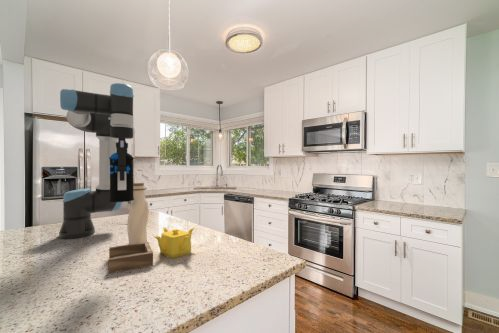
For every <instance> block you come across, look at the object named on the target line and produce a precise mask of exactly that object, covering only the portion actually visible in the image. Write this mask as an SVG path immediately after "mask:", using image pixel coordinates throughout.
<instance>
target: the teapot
mask: <svg viewBox="0 0 499 333" xmlns="http://www.w3.org/2000/svg"><path fill="white" fill-rule="evenodd" d="M195 229H196V228H195V227H191V228H190V229H189V230H188V232H187V231H184V230H181V229H178V228H173V229H172V230H168V228H166V227H163V231H164V232H161V235H160V236H159V235H155V236H153V238H154V239H156V240H157V244H158V247H159V250H160V251H159V252H160V253H161V254H162V255H163V254H164V256H165V257H167V256H168V258H169V257H170V259H176V258H179V256H180V257H183V256H186V255H188V253H189V254H191V251H192V235H193V234H192V233H193V231H194V230H195ZM185 254H186V255H185ZM182 255H183V256H182Z"/></svg>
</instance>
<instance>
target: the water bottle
mask: <svg viewBox="0 0 499 333" xmlns="http://www.w3.org/2000/svg"><path fill="white" fill-rule="evenodd" d="M147 189H148V188H147V187H146V186H145V183H144V182H133V198H134V200H132V201H127V202H126V207H127V208H128V216H127V224H126V226H127V227H126V228H127V229H126V230H127V236H128V245H130V244H137V243H144V242H148V236H147V234H148V232H147V225H148V220H149V214H150V213H149V212H150V211H149V210H150V209H149V208H150V207H149V203H148V201H147V199H146V190H147Z"/></svg>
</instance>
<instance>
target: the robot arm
mask: <svg viewBox="0 0 499 333" xmlns="http://www.w3.org/2000/svg"><path fill="white" fill-rule="evenodd" d="M109 88H110V89H109V94H102V93H95V92H88V91H83V90H82V91H81V90H76V89H67V88H66V89H65V88H63V89H61V90H60V92H59V100H60V101H59V102H60V109H61V110H63V111H66V117H65V118H66V121H67V122H68V124H69V125H70V126H72V127H73V128H75V129H76V130H78V131H82V132H84V133H92V134H94V133H95V137H96V138H97V139H98V140H99V142H98V144H99V147H98V152H99V153H98V155H99V157H98V159H99V160H98V185H96V187H95V190H92V189H91V188H79V189H74V190H70V191H66V192H65V193H64V194H63V198H62V200H63V201H62V204H63V205H62V206H63V209H62V210H63V214H62V218H63V222H62V224H61V227H60V230H59V231H58V238H60V239H66V240H67V239H70V240H71V239H78V238H84V237H85V238H86V237H88V236H92V235H94V234H95V232H96V229H95V226H94V223H93V220H92V214H93V213H94V214H96V213H104V212H106V213H107V212H113V211H119V210H120V209H121V208H122V205H123V202H110V201H109V200H110V159H109V157H111V155H113V154H114V153H117V154H118V169H116V171H120V172H118V190H126V169H127V167H126V154H127V153H128V149H129V143H128V142H127V141H126V139H128V140H129V139H133V138H134V129H133V127H134V97H135V96H134V88H133V87H132V86H131V85H129V84H126V83H121V82H120V83H119V82H115V83H111V84H110V86H109Z"/></svg>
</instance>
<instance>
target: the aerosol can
mask: <svg viewBox="0 0 499 333" xmlns="http://www.w3.org/2000/svg"><path fill="white" fill-rule="evenodd" d="M109 159H110V200H109V201H110V202H122V203H125V202H126V203H127V201H132V200H134V198H133V183H134V159H135V157H133V155H131V154H130V153H128V152H127V154H126V167H127V169H126V190H118V172H120V171H116V169H118V154H117V153H114V154H113V155H111V157H109Z"/></svg>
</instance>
